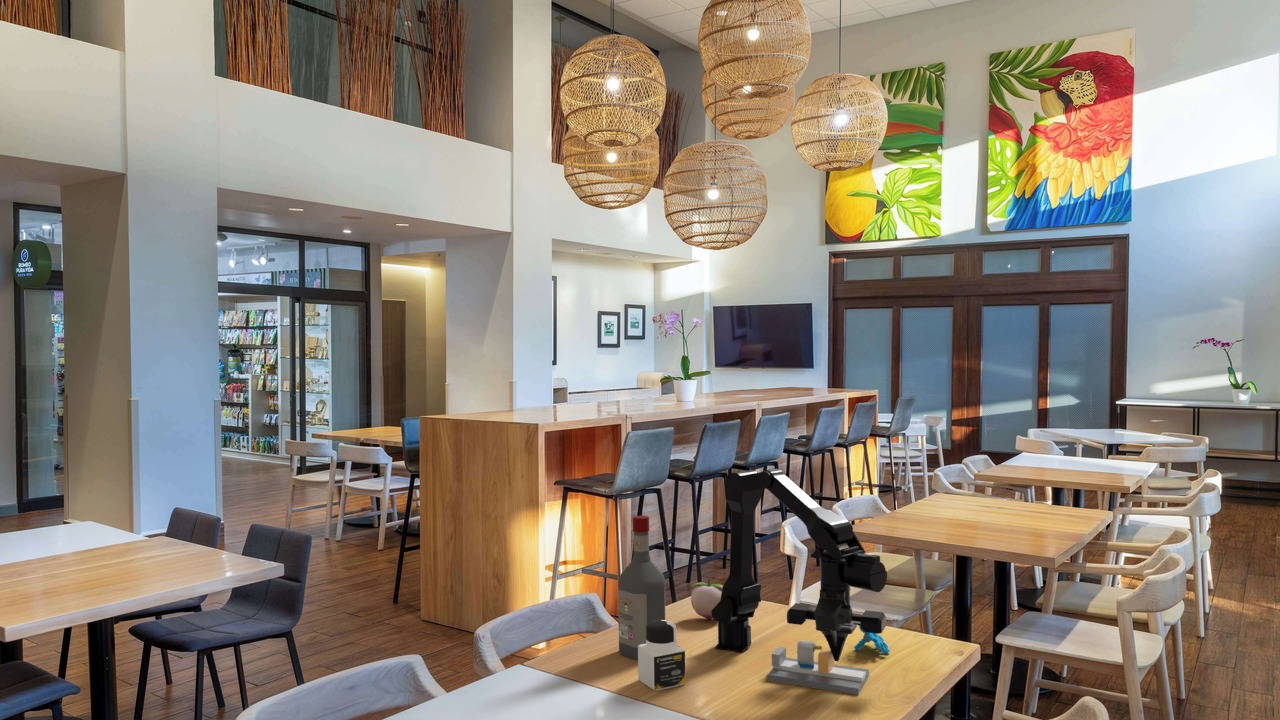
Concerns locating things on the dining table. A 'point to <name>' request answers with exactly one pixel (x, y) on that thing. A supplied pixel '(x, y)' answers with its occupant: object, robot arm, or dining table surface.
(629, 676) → the dining table surface
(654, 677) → the medicine bottle
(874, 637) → the gear
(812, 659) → the electric motor
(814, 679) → the rail
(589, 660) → the dining table surface
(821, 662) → the tall tan wooden block
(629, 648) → the liquor
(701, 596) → the decorative fruit
